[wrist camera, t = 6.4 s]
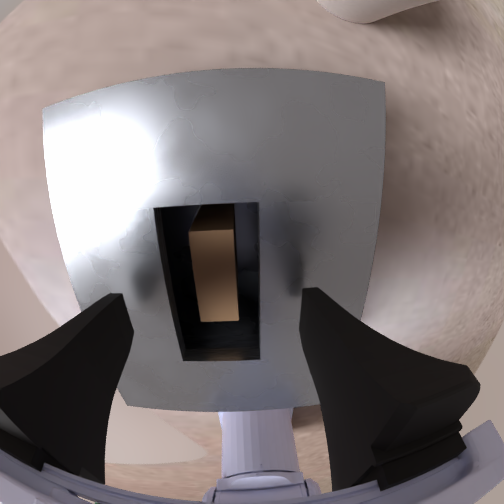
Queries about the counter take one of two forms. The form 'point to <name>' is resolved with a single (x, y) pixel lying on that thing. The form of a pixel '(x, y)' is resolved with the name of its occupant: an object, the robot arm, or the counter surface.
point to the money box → (246, 220)
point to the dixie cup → (368, 8)
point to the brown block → (215, 262)
